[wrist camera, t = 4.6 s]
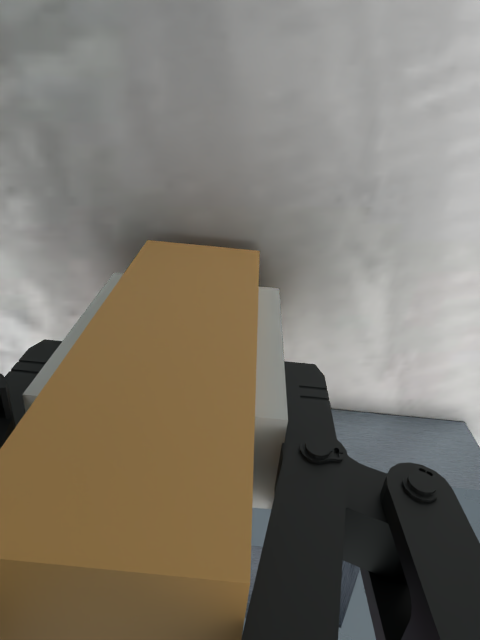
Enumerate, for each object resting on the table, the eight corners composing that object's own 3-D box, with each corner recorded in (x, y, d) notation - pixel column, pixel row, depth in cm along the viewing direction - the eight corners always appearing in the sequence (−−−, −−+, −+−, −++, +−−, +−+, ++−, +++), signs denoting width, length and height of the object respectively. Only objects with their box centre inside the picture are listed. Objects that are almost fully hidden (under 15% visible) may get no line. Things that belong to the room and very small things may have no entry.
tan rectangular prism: (147, 239, 16) (-72, 551, 6) (259, 250, 16) (249, 583, 6) (148, 336, 18) (-14, 704, 8) (249, 346, 18) (227, 728, 8)
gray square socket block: (156, 391, 21) (133, 456, 17) (464, 422, 21) (506, 492, 17) (156, 582, 27) (140, 657, 24) (391, 606, 27) (410, 685, 23)
